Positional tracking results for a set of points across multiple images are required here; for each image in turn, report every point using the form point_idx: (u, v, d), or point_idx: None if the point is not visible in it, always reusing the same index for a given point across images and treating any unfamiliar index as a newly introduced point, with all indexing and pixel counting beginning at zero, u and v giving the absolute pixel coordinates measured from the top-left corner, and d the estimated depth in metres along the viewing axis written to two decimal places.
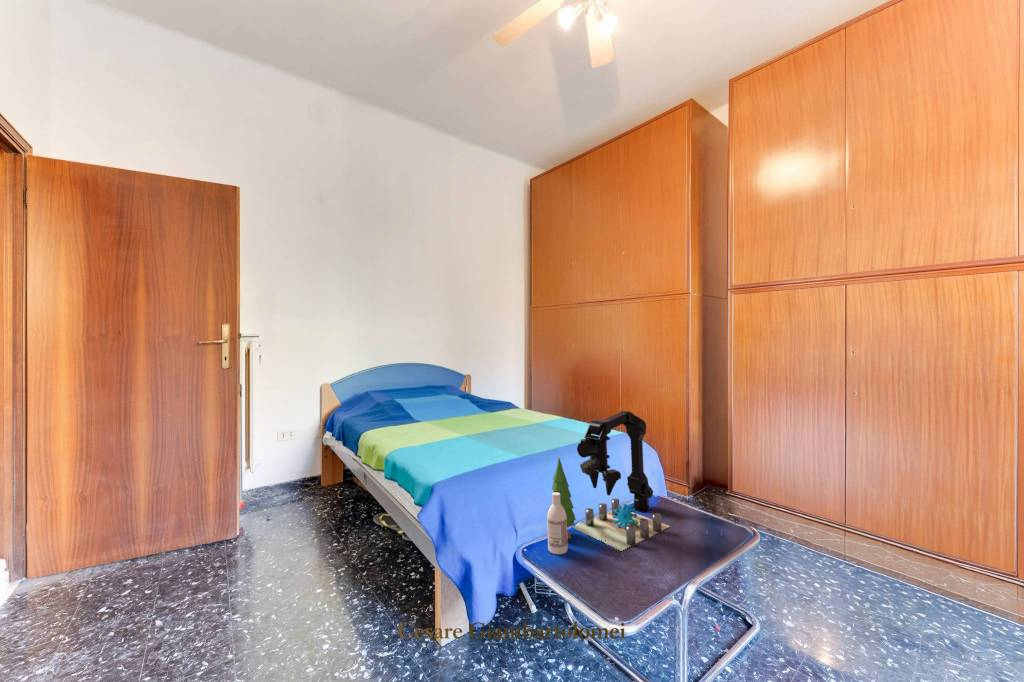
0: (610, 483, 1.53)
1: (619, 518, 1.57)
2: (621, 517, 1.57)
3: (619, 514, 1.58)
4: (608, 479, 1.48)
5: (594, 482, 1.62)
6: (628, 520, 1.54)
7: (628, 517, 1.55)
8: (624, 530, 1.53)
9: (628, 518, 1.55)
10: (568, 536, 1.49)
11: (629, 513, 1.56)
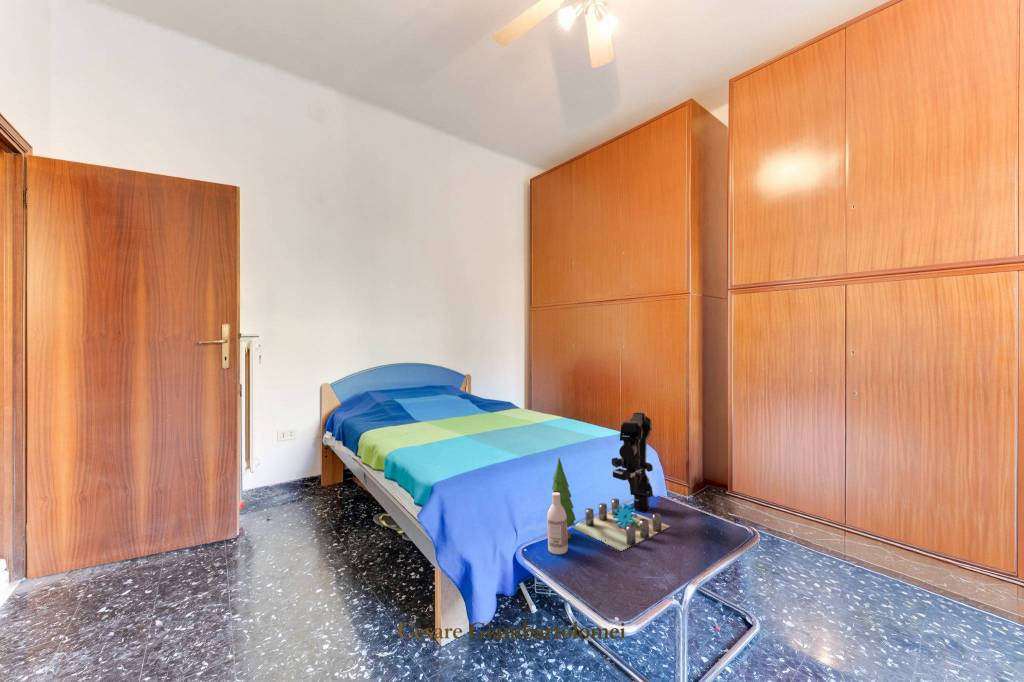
0: (631, 480, 1.59)
1: (619, 518, 1.57)
2: (621, 517, 1.57)
3: (619, 514, 1.58)
4: None
5: None
6: (628, 520, 1.54)
7: (628, 517, 1.55)
8: (624, 530, 1.53)
9: (628, 518, 1.55)
10: (568, 536, 1.49)
11: (629, 513, 1.56)
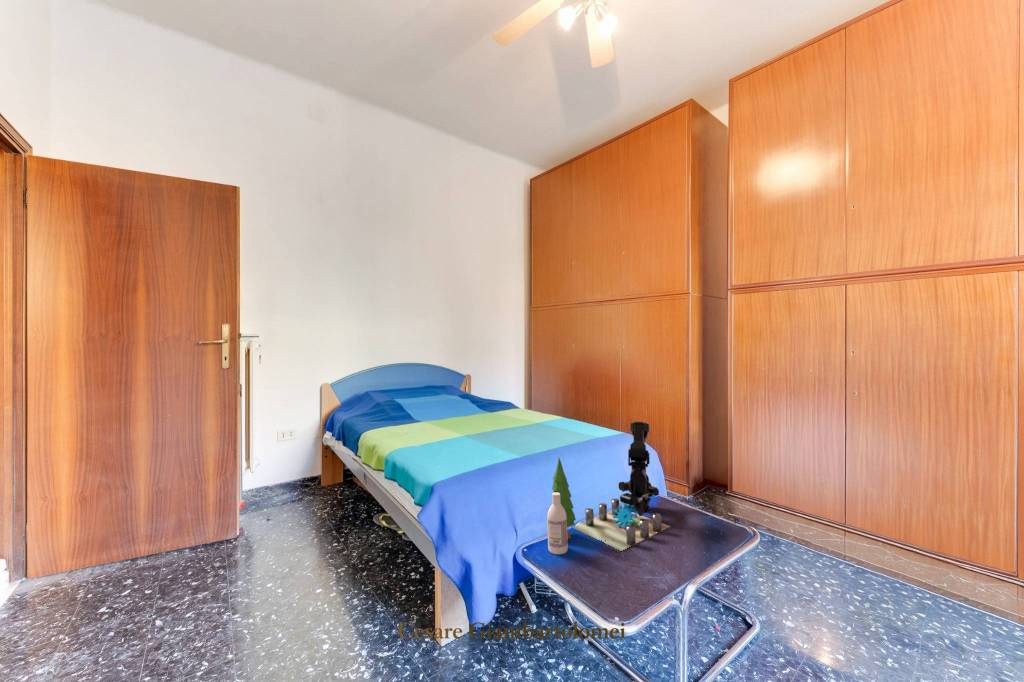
0: (638, 504, 1.61)
1: (619, 518, 1.57)
2: (621, 517, 1.57)
3: (619, 514, 1.58)
4: (620, 499, 1.59)
5: None
6: (628, 520, 1.54)
7: (628, 517, 1.55)
8: (624, 530, 1.53)
9: (628, 518, 1.55)
10: (568, 536, 1.49)
11: (629, 513, 1.56)
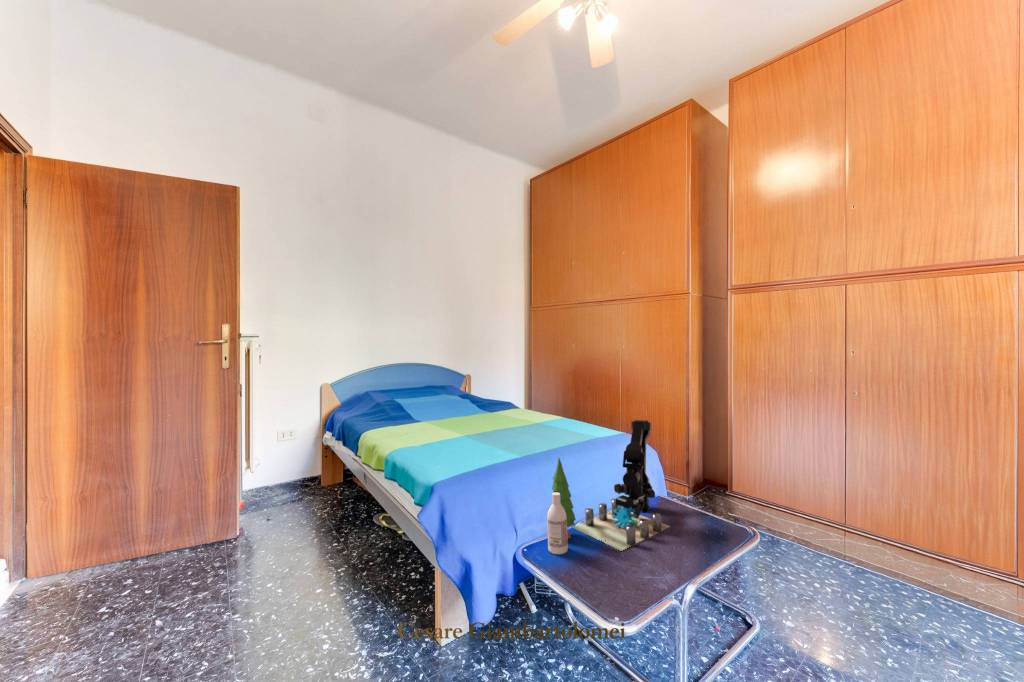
0: (634, 507, 1.60)
1: (619, 518, 1.57)
2: (621, 517, 1.57)
3: (619, 514, 1.58)
4: None
5: None
6: (627, 520, 1.54)
7: (627, 517, 1.55)
8: (624, 530, 1.53)
9: (627, 518, 1.55)
10: (568, 536, 1.49)
11: (629, 513, 1.56)
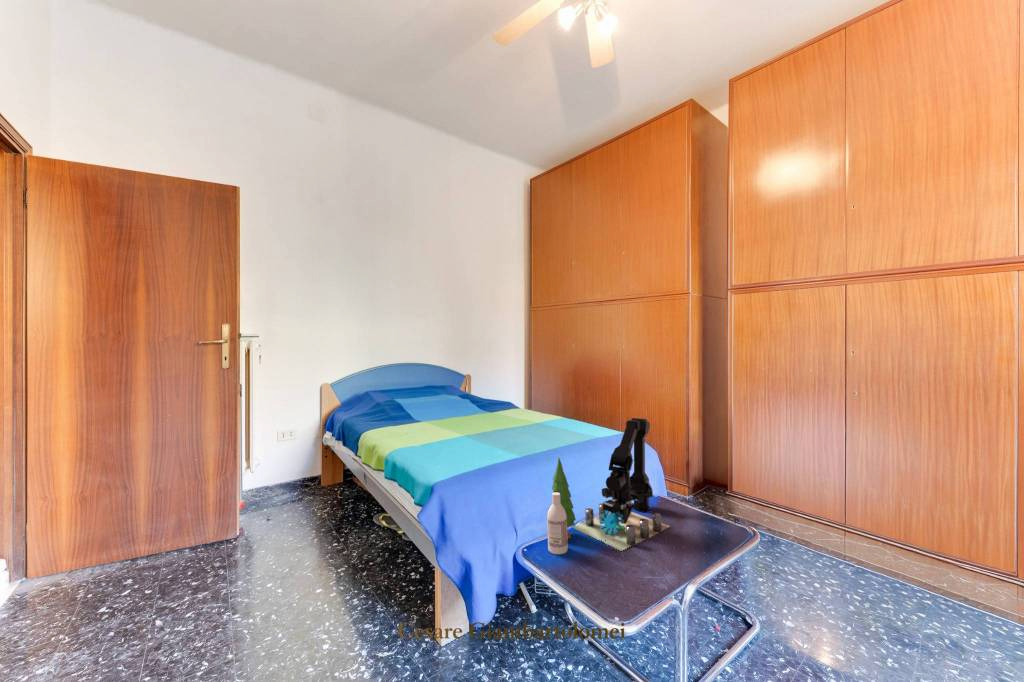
0: (622, 511, 1.55)
1: (606, 524, 1.52)
2: (608, 523, 1.52)
3: (606, 519, 1.54)
4: None
5: None
6: (615, 526, 1.50)
7: (615, 523, 1.51)
8: None
9: (615, 524, 1.50)
10: (568, 536, 1.49)
11: (616, 519, 1.52)
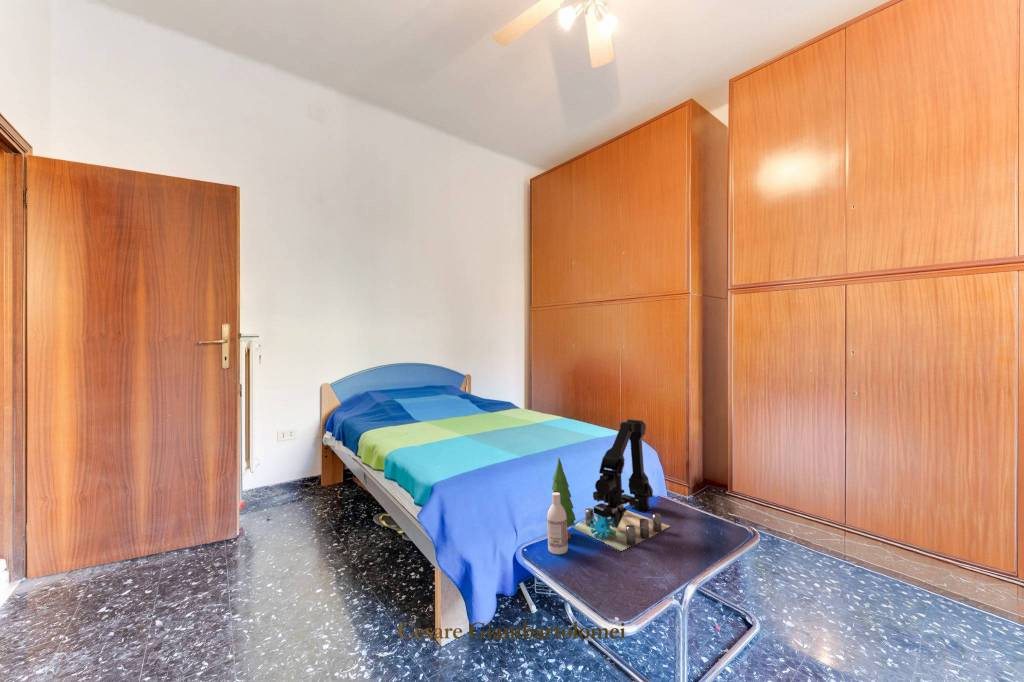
0: (613, 515, 1.52)
1: (596, 527, 1.49)
2: (599, 526, 1.49)
3: (597, 523, 1.51)
4: None
5: None
6: (605, 530, 1.47)
7: (606, 527, 1.48)
8: (624, 530, 1.53)
9: (606, 528, 1.47)
10: (568, 536, 1.49)
11: (607, 522, 1.49)
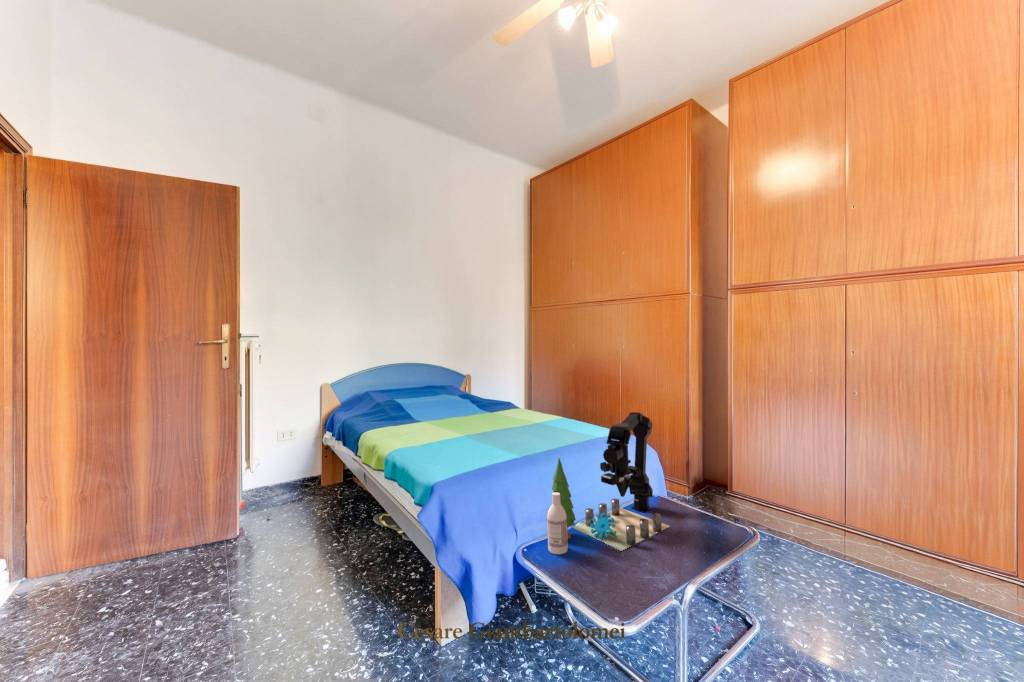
0: (620, 485, 1.57)
1: (597, 527, 1.49)
2: (599, 526, 1.49)
3: (597, 523, 1.51)
4: (601, 480, 1.55)
5: None
6: (605, 530, 1.47)
7: (606, 527, 1.48)
8: (624, 530, 1.53)
9: (606, 528, 1.47)
10: (568, 536, 1.49)
11: (607, 522, 1.49)
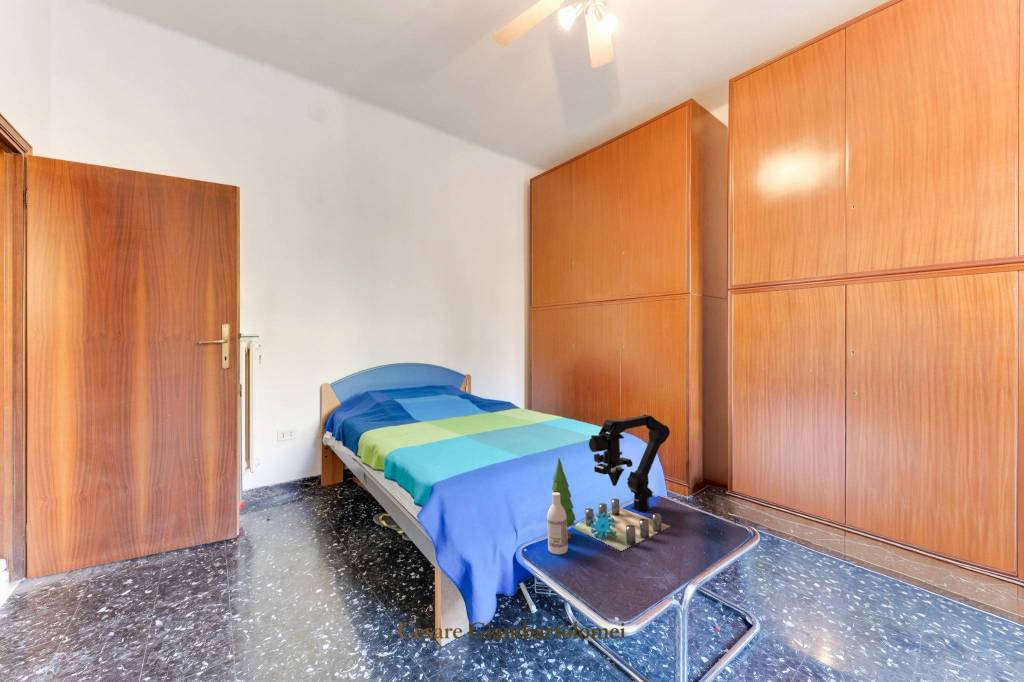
0: (612, 475, 1.69)
1: (597, 527, 1.49)
2: (599, 526, 1.49)
3: (597, 523, 1.51)
4: None
5: None
6: (606, 530, 1.47)
7: (606, 527, 1.48)
8: (624, 530, 1.53)
9: (606, 528, 1.47)
10: (568, 536, 1.49)
11: (607, 522, 1.49)
